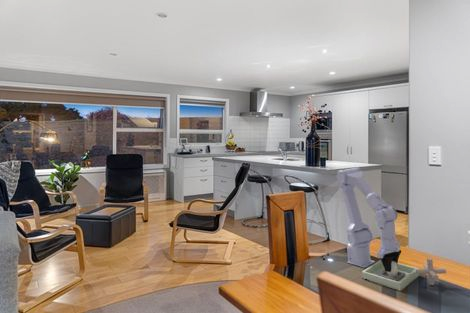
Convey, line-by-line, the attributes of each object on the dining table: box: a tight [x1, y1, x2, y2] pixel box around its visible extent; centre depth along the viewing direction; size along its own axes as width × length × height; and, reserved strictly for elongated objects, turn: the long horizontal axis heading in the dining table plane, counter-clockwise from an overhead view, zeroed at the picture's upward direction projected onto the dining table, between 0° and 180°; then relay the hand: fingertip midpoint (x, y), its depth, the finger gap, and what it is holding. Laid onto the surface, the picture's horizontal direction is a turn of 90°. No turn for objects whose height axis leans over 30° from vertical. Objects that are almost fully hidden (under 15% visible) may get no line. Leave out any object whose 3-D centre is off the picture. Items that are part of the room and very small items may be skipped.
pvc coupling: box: [387, 261, 398, 278], centre depth 132 cm, size 4×4×6 cm
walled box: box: [361, 259, 421, 292], centre depth 133 cm, size 16×16×3 cm
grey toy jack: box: [416, 257, 447, 286], centre depth 124 cm, size 10×10×10 cm
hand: (391, 269), depth 132 cm, fingers closed on pvc coupling, 4 cm apart
